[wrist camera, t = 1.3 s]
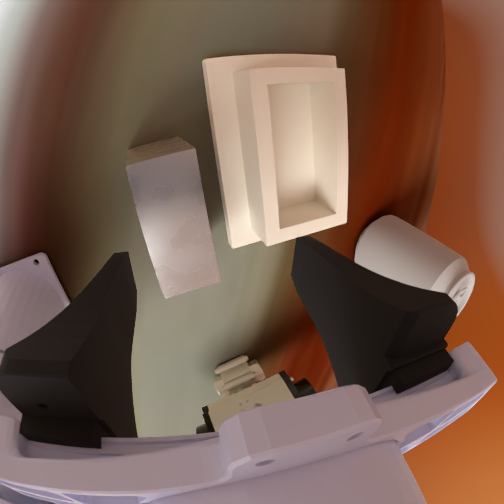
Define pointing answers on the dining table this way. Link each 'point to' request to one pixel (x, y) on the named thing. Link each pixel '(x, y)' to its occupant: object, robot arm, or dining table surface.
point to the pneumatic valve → (248, 391)
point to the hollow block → (279, 144)
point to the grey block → (173, 214)
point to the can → (414, 259)
